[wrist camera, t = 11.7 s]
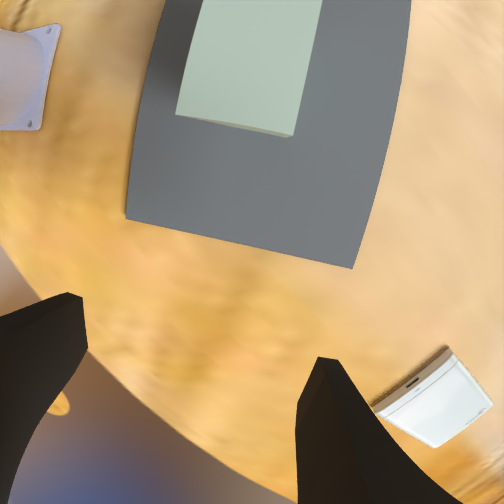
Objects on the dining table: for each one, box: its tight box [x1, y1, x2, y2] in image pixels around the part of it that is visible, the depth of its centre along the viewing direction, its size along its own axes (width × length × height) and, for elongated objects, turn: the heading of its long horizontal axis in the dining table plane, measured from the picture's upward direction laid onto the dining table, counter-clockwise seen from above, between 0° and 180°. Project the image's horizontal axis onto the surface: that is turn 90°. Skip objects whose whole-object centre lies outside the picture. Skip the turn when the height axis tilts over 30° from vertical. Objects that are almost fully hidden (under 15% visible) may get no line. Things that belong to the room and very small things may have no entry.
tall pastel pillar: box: [175, 0, 322, 138], centre depth 10 cm, size 3×6×9 cm, turn 168°
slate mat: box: [126, 0, 411, 269], centre depth 15 cm, size 14×18×1 cm
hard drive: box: [373, 348, 493, 448], centre depth 22 cm, size 2×8×12 cm
